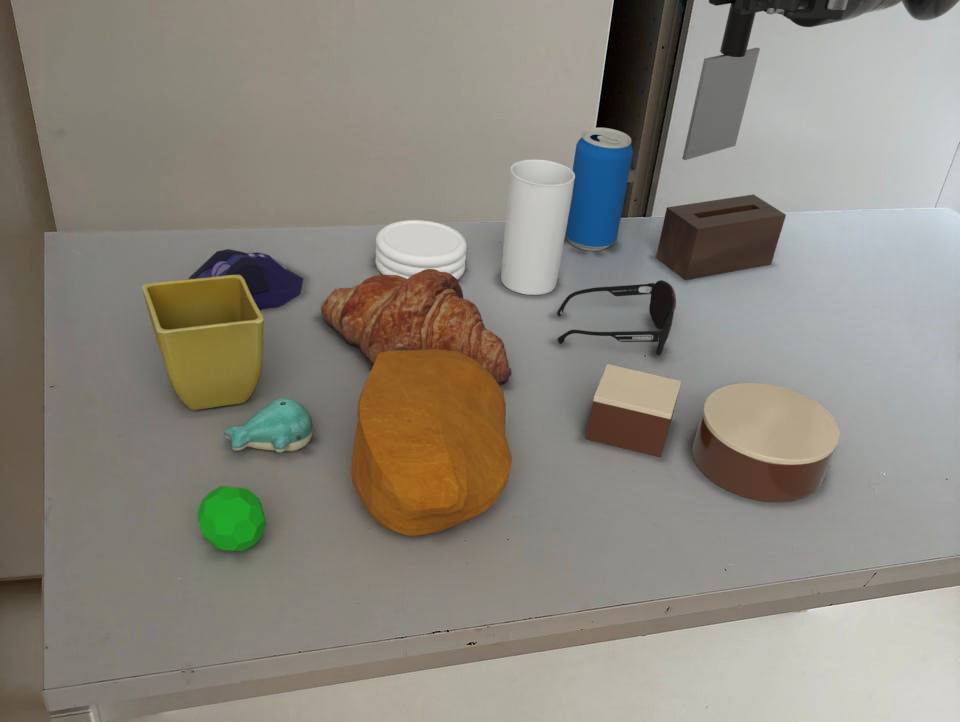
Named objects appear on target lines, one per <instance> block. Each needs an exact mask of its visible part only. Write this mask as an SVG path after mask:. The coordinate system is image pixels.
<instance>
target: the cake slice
mask: <svg viewBox="0 0 960 722" xmlns="http://www.w3.org/2000/svg"><path fill="white" fill-rule="evenodd" d="M681 385H682V380H678V379H674V378H670V377H665V376H661V375H657V374H652V373H648V372H645V371H640V370H636V369H631V368H628V367H627V368H626V367H623V366H617V365H614V364H609V363H607V364H606V366H605V368H604V371H603V373H602V375H601V378H600V380H599V383H598V386H597V388H596V390H595V394H594V395H593V399H592V404H591V409H590V414H589V418H588V419H589V420H588V423H587V430H586V433H585V434H586V435H585V440H589V441H592V442H596V443H601V444H605V445H609V446H613V447H618V448H622V449H626V450H629V451H633V452H638V453H642V454H646V455H651V456H655V457H659V458H661V457H662V453H663V451H664V448H665V445H666V440H667V437H668V433H669V430H670V426H671V423H672V420H673V416H674V413H675V408H676V404H677V401H678V397H679V394H680V390H681Z"/></svg>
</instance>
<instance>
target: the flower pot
mask: <svg viewBox="0 0 960 722" xmlns="http://www.w3.org/2000/svg"><path fill="white" fill-rule="evenodd" d="M141 290H142V295H143V297H144V301H145V305H146V309H147V312H148V316H149V319H150V324H151V327H152V331H153V334H154V337H155V340H156V343H157V346H158V348H159V352H160V354H161V356H162V359H163V363H164V365H165V369H166V372H167V376H168V378H169V381H170V383H171V385H172V388H173V389H174V391H175V393H176V394H177V396H178V397H179V399H180V400H181V401H182V403H184V405H185V406H186V407H187V408H188V409H189V410H191V411H196V410H203V409H212V408H219V407H225V406H232V405H240V404H244V403H247V401H248V400H249V399H250V397H251V396H252V395H253V393H254V391H255V390H256V387H257V385H258V383H259V380H260V378H261V372H262V367H263V351H264V349H263V348H264V327H265V325H264V324H265V323H264V322H265V318H264V316H263V313H262V312H261V311H260V309H258V307H257V305H256V303H255V302H254V300H253V298H252V296H251V293H250V291H249V289H248V287H247V285H246V282H245V280H244V278H243V277H242V276H241V275H227V276H217V277H208V278H198V279H189V278H187V279H178V280H167V281H158V282H149V283H143V284H142V285H141Z"/></svg>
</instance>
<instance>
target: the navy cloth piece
mask: <svg viewBox="0 0 960 722" xmlns="http://www.w3.org/2000/svg"><path fill="white" fill-rule="evenodd" d="M227 275H241V276H242V277H243V278H244V280H245V282H246V285H247V287H248V289H249V291H250V293H251V296H252V298H253V300H254V302H255V303H256V305H257V307H258V309H259V310H266V309H273V308H279V307H280V308H281V307H282V306H284V305H285V304H287V303H288V302H290V301H291V300H293V299H294V298H296V297H298V296H299V295H300V294H301V291H302V286H303V283H304V278H303V277H302V276H300V275H298V274H296V273H295V272H293V271H291V270H289V269H288V268H286V266H283V265H282V264H281V263H279V262H278V261H277V260H276V259H274V258H273V257H272V256H270V254H267V253H262V252H257V251H256V252H244V251H240V250H234V249H231V248H227V249H221V250H217V251H216V252H214V254H213V255H211V257H209V258H208V259H207V260H206V261H205V262H204V263H203V264H201V266H200V267H199V268H197V269H196V270H195V271H194V272H193V273H192V274H191V275H190V276H189V277H188V279H198V278H208V277H217V276H227Z"/></svg>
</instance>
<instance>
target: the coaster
mask: <svg viewBox="0 0 960 722" xmlns="http://www.w3.org/2000/svg"><path fill="white" fill-rule="evenodd" d="M375 246H376V247H375V250H374V251H375V259H374V262H375V266H376V268H377V270H378V272H380V274H381V275H398V276H401V277H404V278H406V279H408V278H409V277H411V276H412V275H414V274H416V273H419V272H421V271H423V270H426V269H435V270H438V271H440V272H447V273H450V274H451V275H453V276H454V277H455V278H456V279H457V280H458V281H459V279H461V278H462V277H463V275H464V273H465V271H466V260H467V254H466V252H467V250H468V244H467V241H466V238H465V237H464V236H463V235H462V234H461V233H460V232H459V231H457V230H456V229H454V228H453V227H451V226H448V225H447V224H443V223H441V222H436V221H431V220H421V219H409V220H400V221H396V222H392V223H390V224H387V225H385V226H384V227H383V228H381V229H380V230H379V231H378V232H377V234H376V237H375Z"/></svg>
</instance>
